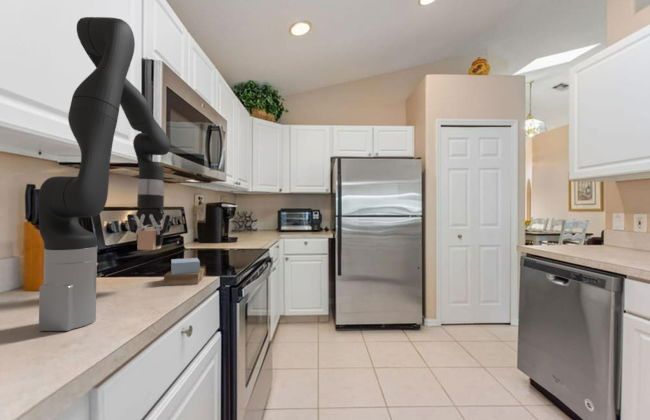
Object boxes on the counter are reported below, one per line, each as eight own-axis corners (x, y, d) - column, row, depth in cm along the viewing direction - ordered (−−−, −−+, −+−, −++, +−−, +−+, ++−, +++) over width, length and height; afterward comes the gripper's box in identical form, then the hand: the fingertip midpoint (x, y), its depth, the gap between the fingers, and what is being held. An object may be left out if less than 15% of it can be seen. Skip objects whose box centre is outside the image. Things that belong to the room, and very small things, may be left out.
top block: (199, 272, 110) (199, 261, 110) (171, 274, 106) (171, 263, 106) (197, 268, 118) (197, 257, 118) (171, 270, 114) (171, 259, 114)
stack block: (153, 249, 98) (153, 231, 98) (137, 249, 97) (137, 230, 98) (161, 248, 103) (161, 230, 103) (146, 248, 102) (146, 230, 103)
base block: (197, 285, 107) (198, 274, 107) (163, 286, 105) (164, 275, 105) (203, 278, 118) (203, 268, 118) (173, 279, 116) (173, 269, 116)
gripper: (121, 192, 96) (119, 247, 96) (167, 193, 97) (166, 247, 97) (135, 194, 104) (134, 244, 104) (178, 195, 104) (177, 245, 104)
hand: (149, 245), depth 100 cm, fingers closed on stack block, 5 cm apart
